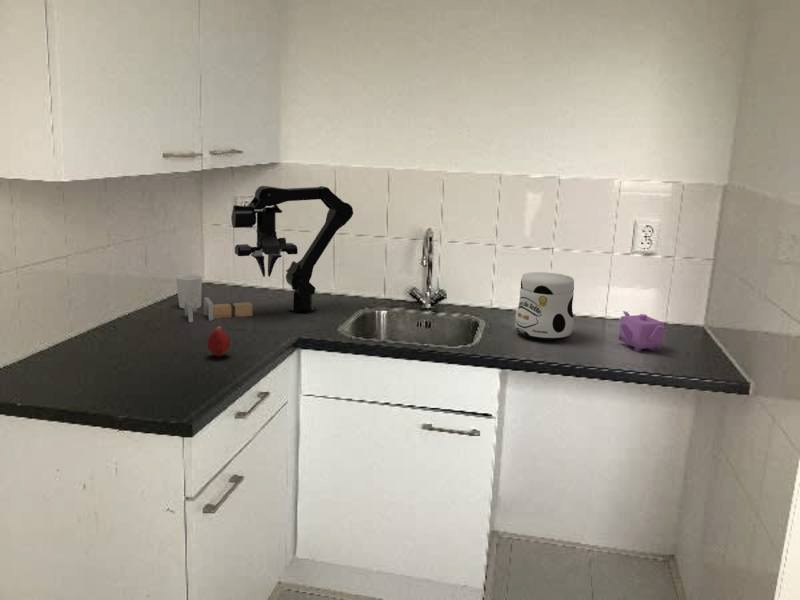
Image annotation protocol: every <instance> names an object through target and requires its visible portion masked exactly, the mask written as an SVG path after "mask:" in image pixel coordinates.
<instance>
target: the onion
mask: <svg viewBox="0 0 800 600" xmlns="http://www.w3.org/2000/svg"><path fill="white" fill-rule="evenodd" d="M206 346H207V349H208V351H209V352H210V353H211V354H213V355H214V356H215V357H218V358H220V357H222V356H223V355H225V353H227V352H228V350H229V349H231V337H230V336H229V334H227V332H225V331H223V330H222V327H221V326H217V327H216V329H215V330H213V331H212V332H211V333H210V334H209V336H208V338H207V340H206Z"/></svg>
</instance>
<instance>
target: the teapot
mask: <svg viewBox="0 0 800 600" xmlns="http://www.w3.org/2000/svg"><path fill="white" fill-rule="evenodd" d="M622 313H623V314H624V315H622V316H621V317H620V324H619V325H620V326H619V332H618V333H619V335H618V340H619V341H621V342H622V343H624V344H623V347H626V348H627V347H629V348H630V347H633V348H634V350H633V351H635V352H639V353H640V352H642V350H643V349H644V350H645V349H647V350H648V351H656V349H657V348H658V349H659V348H662V347H663V342H664V341H663V340H664V334H665V333H664V332H665V322H662V321H660V320H658V319H655V318H652V317H649V316H648V315H647V314H645V313H643V314H638V315H630V314H629V312H628V311H625V310H624V311H622ZM655 348H656V349H655Z"/></svg>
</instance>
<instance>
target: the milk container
mask: <svg viewBox="0 0 800 600" xmlns="http://www.w3.org/2000/svg"><path fill="white" fill-rule="evenodd" d="M574 290H575V280H574V278H573V277H571V276H569V275H565V274H561V273H556V272H555V273H553V272H542V271H541V272H540V271H538V272H534V271H533V272H526V273H524V274H522V275H521V279H520V289H519V302H518V306H517V308H516V312H515V314H514V315H515V316H514V326H515V329H516V331H517V332H518V333H519V335H522V336H524V337H527V338H530V339H535V340H541V341H542V340H543V341H556V340H557V341H558V340H564V339H566V338H568V337H569V336H570V335H571V334H572V332H573V329H574V326H575V318H574V317H575V316H574V314H573V313H574V312H573V302H574V301H573V300H574V294H575V293H574Z"/></svg>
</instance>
